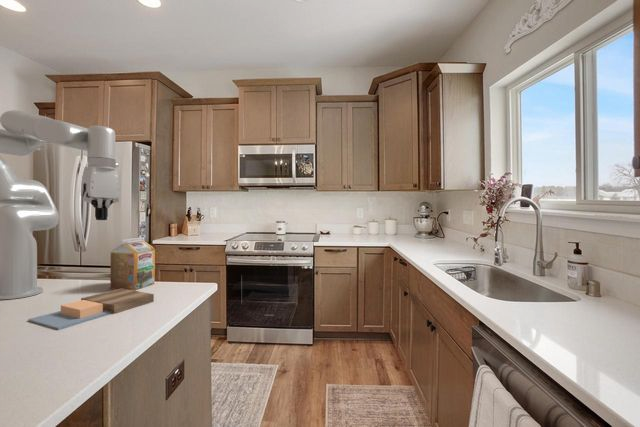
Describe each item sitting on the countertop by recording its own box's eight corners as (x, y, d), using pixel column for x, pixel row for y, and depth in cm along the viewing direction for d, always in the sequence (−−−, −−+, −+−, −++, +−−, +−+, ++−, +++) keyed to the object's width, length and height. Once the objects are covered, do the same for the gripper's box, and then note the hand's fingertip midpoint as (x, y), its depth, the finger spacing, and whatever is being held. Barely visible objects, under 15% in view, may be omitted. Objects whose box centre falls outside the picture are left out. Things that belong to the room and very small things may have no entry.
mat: (28, 321, 83) (28, 319, 83) (82, 306, 95) (82, 305, 95) (58, 329, 78) (58, 327, 78) (111, 313, 90) (111, 311, 90)
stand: (81, 306, 96) (81, 298, 96) (121, 295, 108) (121, 288, 108) (114, 313, 90) (114, 305, 90) (153, 301, 102) (153, 294, 102)
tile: (60, 313, 88) (60, 305, 88) (83, 307, 93) (83, 299, 93) (80, 318, 84) (80, 309, 84) (102, 311, 90) (102, 303, 90)
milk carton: (134, 290, 114) (134, 240, 114) (110, 288, 116) (110, 239, 116) (154, 284, 124) (155, 237, 124) (132, 282, 126) (132, 236, 126)
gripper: (116, 167, 109) (116, 219, 109) (68, 161, 95) (68, 220, 95) (131, 167, 106) (130, 219, 106) (83, 160, 92) (83, 221, 93)
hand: (101, 219), depth 101 cm, fingers closed
